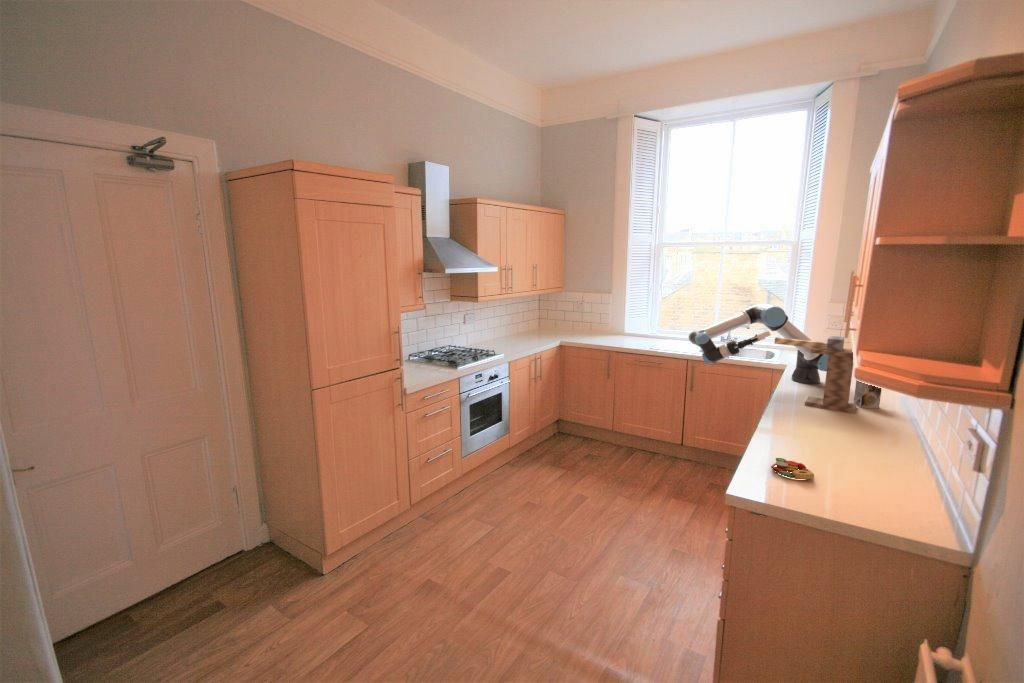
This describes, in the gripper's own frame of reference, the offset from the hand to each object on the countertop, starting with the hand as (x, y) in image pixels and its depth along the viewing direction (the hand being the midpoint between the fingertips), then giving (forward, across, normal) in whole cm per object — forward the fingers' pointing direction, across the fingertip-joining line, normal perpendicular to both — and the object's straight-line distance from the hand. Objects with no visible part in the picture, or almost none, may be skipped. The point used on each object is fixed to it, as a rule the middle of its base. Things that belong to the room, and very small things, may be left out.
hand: (767, 334), depth 253 cm
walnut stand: (+11, 0, -46) cm, 47 cm away
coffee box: (+23, -12, -53) cm, 59 cm away
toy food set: (+9, +98, -46) cm, 108 cm away
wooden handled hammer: (+14, 0, -14) cm, 20 cm away
